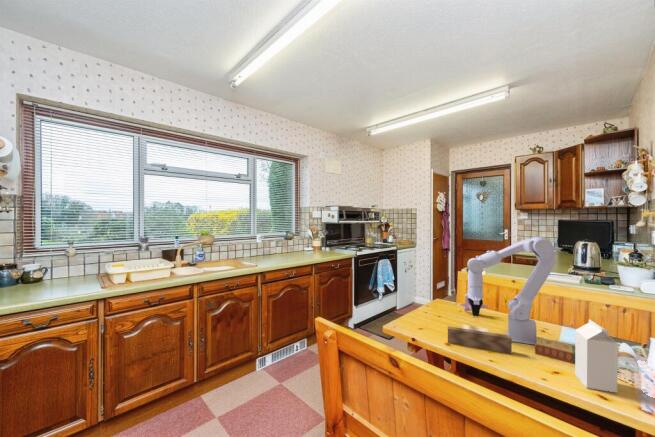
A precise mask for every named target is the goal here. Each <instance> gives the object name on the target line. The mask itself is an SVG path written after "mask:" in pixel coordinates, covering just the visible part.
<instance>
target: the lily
mask: <svg viewBox="0 0 655 437" xmlns="http://www.w3.org/2000/svg"><path fill="white" fill-rule="evenodd" d="M468 298H469V297H466V296H465V303H460V304H459V306H462V307H464V311H463V312H465V311H466V312H469V311H472V309H471V305H470V303H469V301H468ZM486 308H488V306H487V305H486V304H484V303H483V304H482V306H481V308H480V309H486Z"/></svg>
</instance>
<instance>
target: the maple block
mask: <svg viewBox="0 0 655 437" xmlns="http://www.w3.org/2000/svg"><path fill="white" fill-rule="evenodd" d="M460 328H463V329H470V330H476V331H483V332H489V331H490V329H489V328H487V327H486V328H484V327H481V326H480V327H479V326H475V325H470V324H469V325H467V324H461V327H460ZM489 333H490V332H489Z"/></svg>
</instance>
